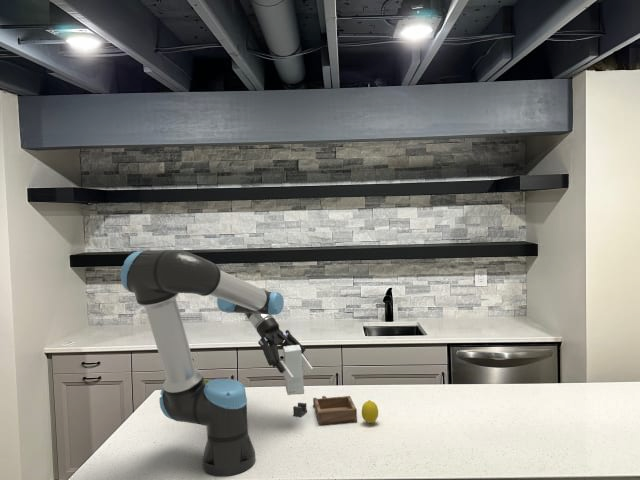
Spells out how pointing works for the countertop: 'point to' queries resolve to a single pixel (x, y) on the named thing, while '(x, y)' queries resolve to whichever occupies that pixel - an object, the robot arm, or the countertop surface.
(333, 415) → the open wooden tray
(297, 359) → the skincare box
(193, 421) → the robot arm
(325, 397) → the clip
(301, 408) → the clip
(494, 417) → the countertop surface
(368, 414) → the lemon
